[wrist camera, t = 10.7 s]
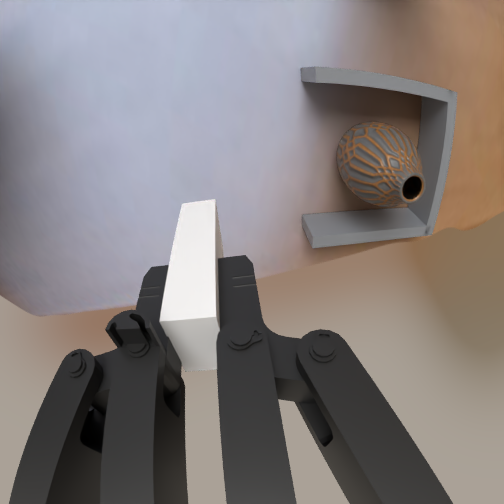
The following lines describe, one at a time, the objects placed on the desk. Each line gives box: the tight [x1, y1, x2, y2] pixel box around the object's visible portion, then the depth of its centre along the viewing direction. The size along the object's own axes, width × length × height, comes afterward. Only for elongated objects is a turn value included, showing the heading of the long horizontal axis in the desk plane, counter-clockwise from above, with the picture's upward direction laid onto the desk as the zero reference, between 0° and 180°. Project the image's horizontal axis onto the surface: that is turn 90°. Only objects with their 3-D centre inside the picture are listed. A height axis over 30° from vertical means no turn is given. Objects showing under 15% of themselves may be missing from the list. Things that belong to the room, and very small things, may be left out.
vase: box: [337, 122, 426, 207], centre depth 19 cm, size 7×7×9 cm
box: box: [301, 67, 457, 248], centre depth 21 cm, size 14×15×4 cm
